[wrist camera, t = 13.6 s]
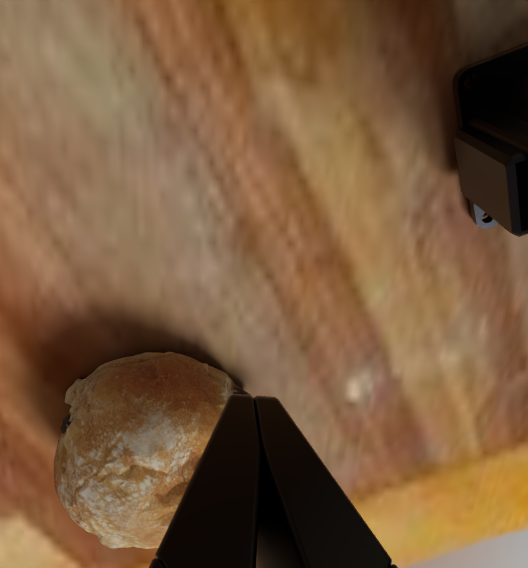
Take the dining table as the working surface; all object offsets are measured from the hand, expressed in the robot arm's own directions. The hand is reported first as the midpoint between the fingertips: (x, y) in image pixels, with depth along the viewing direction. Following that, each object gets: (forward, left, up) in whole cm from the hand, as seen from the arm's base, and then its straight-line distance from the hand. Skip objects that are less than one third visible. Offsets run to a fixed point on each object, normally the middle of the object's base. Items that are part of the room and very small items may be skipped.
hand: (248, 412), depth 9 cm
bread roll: (+8, +10, -12) cm, 18 cm away
